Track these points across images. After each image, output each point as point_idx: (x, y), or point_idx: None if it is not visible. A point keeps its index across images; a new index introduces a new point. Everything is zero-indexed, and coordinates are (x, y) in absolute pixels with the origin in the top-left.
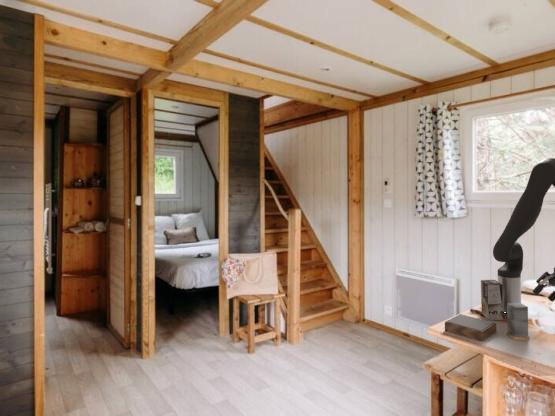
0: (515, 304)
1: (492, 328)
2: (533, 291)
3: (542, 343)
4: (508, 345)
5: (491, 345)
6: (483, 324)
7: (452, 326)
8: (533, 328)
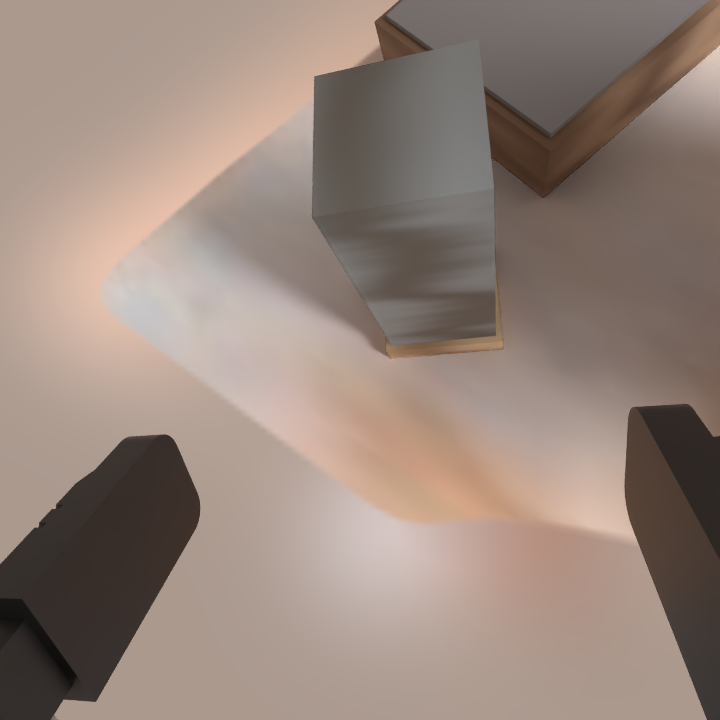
0: (423, 115)
1: (497, 130)
2: (646, 406)
3: (321, 409)
4: None
5: None
6: (505, 50)
7: None
8: None
